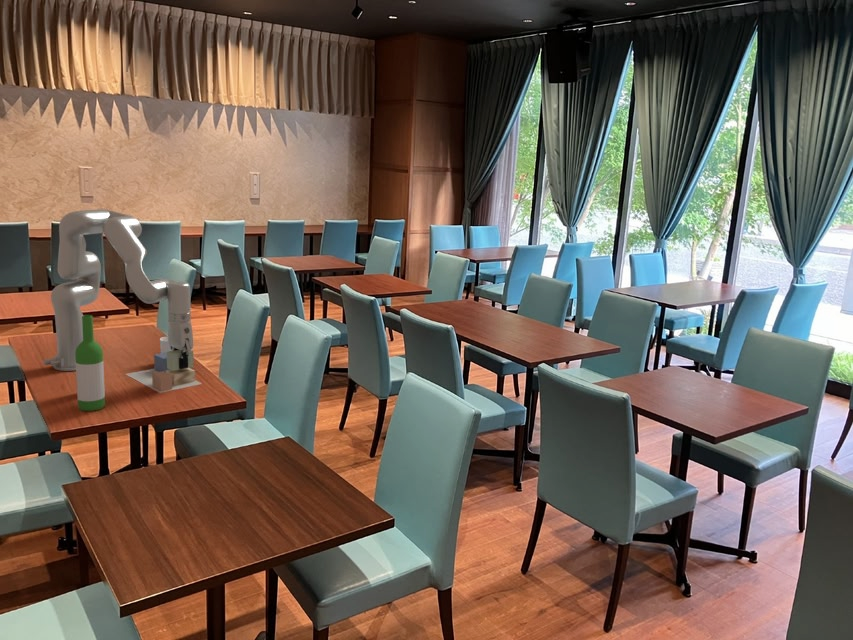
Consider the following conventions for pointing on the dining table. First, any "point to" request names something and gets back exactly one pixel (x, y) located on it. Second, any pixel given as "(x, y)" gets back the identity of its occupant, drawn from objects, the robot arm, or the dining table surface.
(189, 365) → the sage block
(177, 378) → the beech block
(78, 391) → the wine bottle
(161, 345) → the white cup
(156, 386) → the terracotta block
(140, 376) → the felt placemat
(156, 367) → the slate blue block
